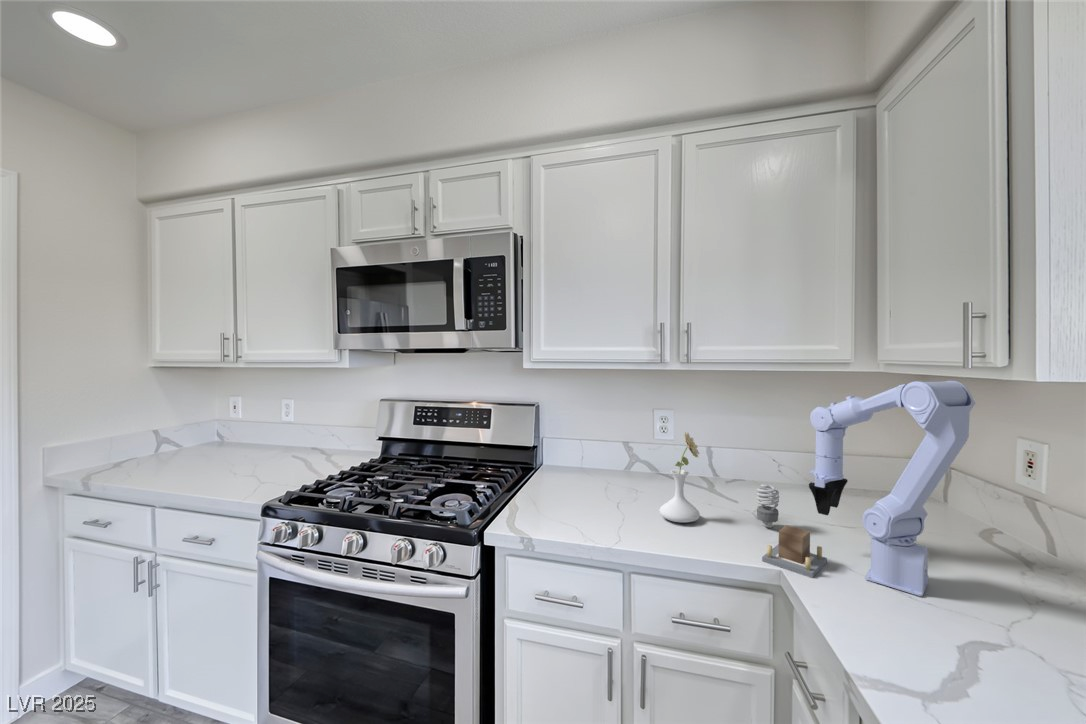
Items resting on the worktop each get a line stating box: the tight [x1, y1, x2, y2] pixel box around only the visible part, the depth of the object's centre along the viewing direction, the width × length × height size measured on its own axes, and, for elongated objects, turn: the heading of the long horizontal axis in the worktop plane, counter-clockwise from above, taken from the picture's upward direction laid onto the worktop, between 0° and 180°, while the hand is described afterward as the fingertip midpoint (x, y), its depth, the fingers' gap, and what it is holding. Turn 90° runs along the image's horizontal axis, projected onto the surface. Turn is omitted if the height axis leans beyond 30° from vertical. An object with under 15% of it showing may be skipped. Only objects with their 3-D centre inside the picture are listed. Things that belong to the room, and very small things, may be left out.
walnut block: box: [778, 525, 811, 564], centre depth 103 cm, size 5×5×6 cm
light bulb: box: [755, 484, 780, 529], centre depth 123 cm, size 6×6×12 cm
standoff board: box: [761, 543, 828, 579], centre depth 103 cm, size 10×10×4 cm
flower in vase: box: [658, 431, 701, 524], centre depth 130 cm, size 13×11×25 cm
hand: (828, 510), depth 110 cm, fingers open, 7 cm apart
